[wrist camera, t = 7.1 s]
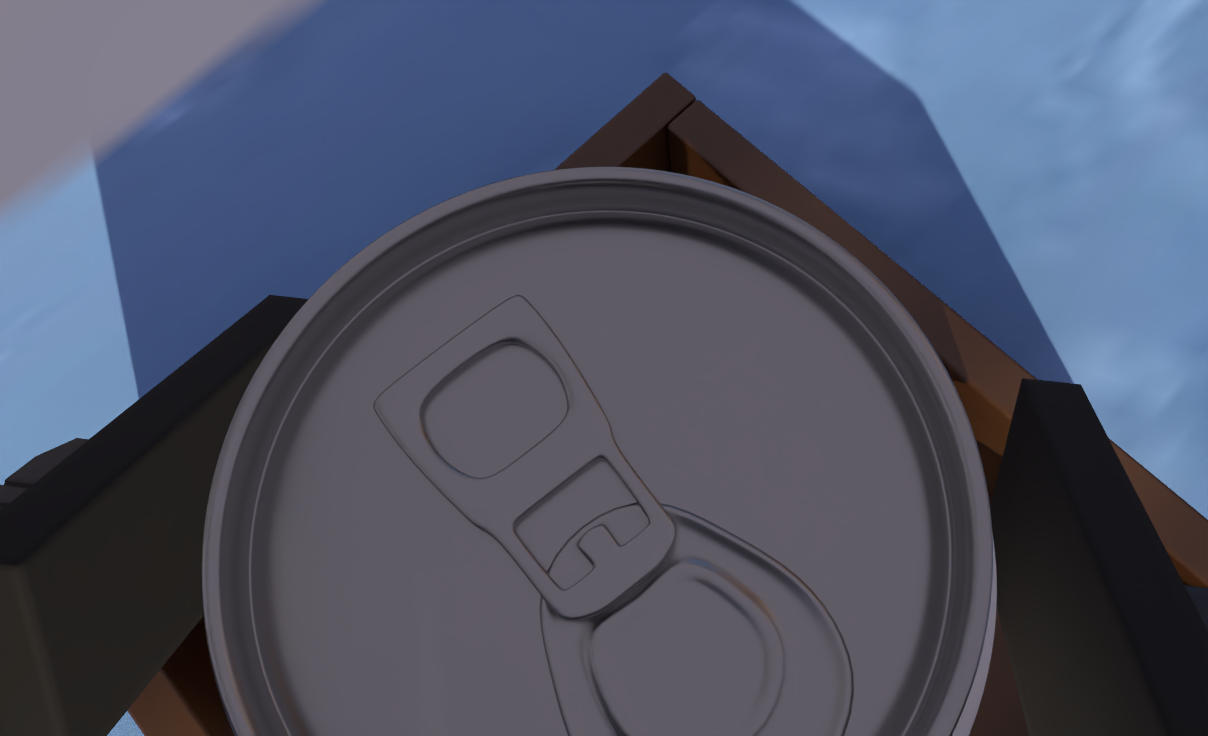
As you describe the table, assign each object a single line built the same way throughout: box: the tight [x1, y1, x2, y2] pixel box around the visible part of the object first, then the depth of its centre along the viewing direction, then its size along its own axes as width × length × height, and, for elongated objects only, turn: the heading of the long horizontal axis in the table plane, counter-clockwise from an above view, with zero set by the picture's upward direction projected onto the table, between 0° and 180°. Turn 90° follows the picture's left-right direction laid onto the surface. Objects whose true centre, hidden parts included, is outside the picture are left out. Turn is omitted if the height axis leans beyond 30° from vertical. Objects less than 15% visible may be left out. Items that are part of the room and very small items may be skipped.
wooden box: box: [127, 72, 1208, 736], centre depth 17 cm, size 14×14×4 cm
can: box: [201, 167, 997, 736], centre depth 13 cm, size 6×6×12 cm
